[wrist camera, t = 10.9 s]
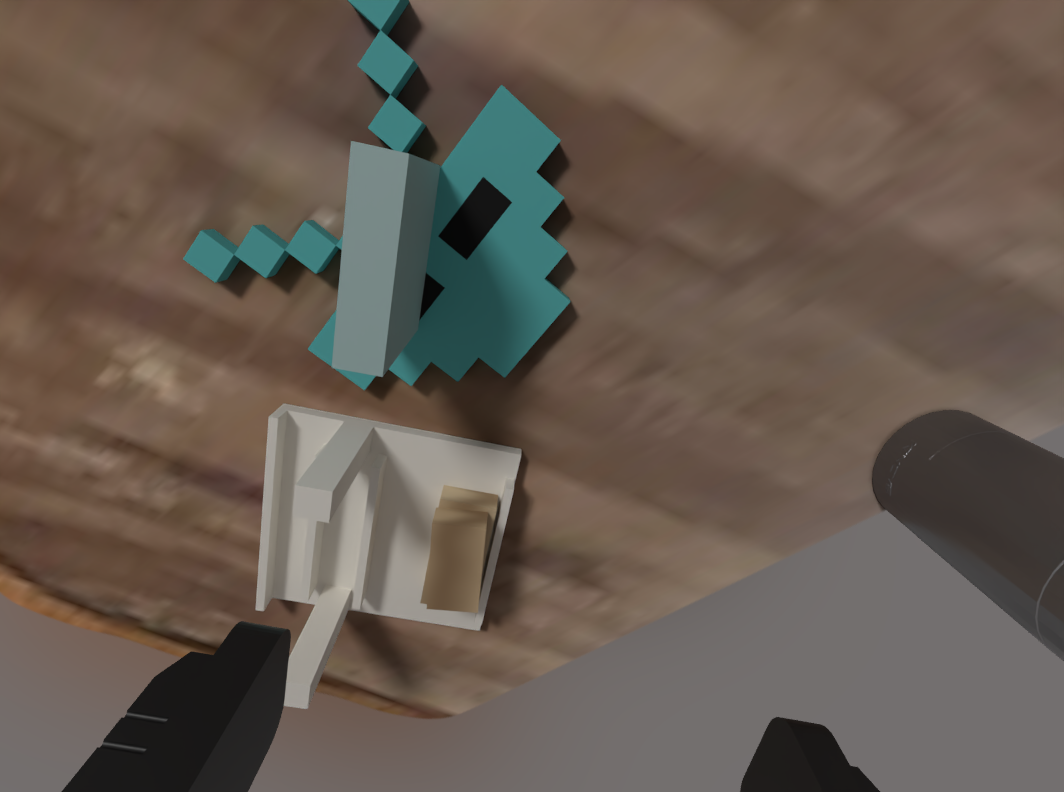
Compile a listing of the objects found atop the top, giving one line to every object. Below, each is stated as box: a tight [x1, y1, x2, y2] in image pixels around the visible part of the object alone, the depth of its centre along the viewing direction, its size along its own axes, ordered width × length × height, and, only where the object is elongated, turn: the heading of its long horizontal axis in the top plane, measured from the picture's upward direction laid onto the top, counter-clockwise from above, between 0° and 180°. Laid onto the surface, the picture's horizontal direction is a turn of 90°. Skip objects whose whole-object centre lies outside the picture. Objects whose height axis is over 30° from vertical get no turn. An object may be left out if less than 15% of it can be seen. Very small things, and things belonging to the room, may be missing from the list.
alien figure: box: [184, 0, 571, 390], centre depth 35 cm, size 20×2×20 cm
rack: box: [256, 403, 521, 709], centre depth 38 cm, size 17×16×10 cm
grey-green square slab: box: [332, 141, 440, 377], centre depth 29 cm, size 2×10×10 cm, turn 168°
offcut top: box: [427, 507, 488, 613], centre depth 39 cm, size 4×7×2 cm, turn 174°
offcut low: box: [420, 485, 498, 604], centre depth 41 cm, size 4×9×2 cm, turn 167°
